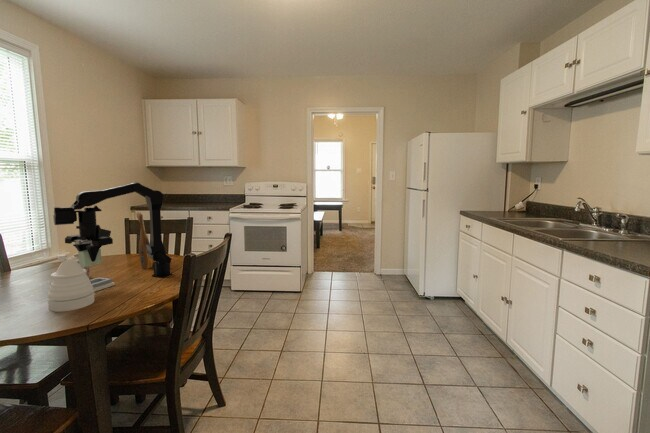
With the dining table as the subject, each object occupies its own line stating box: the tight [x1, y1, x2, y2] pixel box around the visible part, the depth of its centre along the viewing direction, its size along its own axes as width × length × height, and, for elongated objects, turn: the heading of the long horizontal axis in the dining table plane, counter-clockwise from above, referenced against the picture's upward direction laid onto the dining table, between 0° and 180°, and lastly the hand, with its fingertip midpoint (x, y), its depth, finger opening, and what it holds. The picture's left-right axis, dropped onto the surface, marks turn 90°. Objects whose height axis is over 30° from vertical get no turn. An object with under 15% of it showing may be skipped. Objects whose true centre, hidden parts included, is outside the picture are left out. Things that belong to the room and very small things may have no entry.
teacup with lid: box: [69, 252, 91, 279], centre depth 144 cm, size 12×9×12 cm
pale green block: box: [77, 248, 103, 267], centre depth 131 cm, size 7×3×6 cm, turn 164°
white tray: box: [89, 276, 115, 293], centre depth 132 cm, size 10×12×2 cm
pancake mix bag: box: [135, 211, 154, 270], centre depth 166 cm, size 7×19×28 cm, turn 28°
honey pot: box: [47, 254, 95, 312], centre depth 114 cm, size 13×13×18 cm
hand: (90, 261), depth 131 cm, fingers closed on pale green block, 3 cm apart
